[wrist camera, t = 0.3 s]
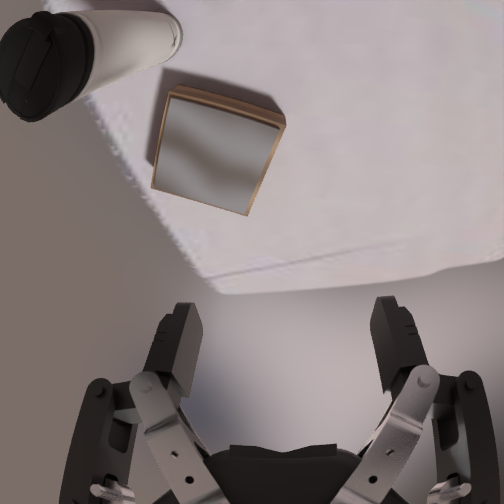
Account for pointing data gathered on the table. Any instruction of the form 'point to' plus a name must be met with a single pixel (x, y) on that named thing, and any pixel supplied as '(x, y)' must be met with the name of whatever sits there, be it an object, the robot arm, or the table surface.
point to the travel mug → (78, 55)
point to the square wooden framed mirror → (214, 148)
